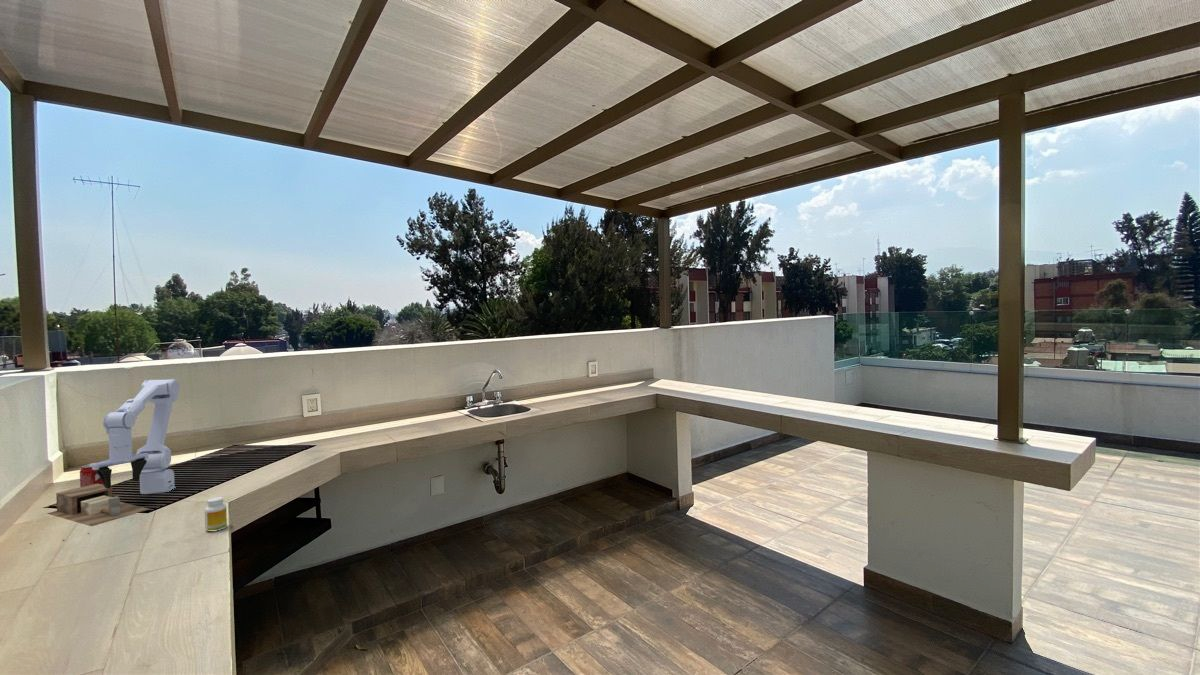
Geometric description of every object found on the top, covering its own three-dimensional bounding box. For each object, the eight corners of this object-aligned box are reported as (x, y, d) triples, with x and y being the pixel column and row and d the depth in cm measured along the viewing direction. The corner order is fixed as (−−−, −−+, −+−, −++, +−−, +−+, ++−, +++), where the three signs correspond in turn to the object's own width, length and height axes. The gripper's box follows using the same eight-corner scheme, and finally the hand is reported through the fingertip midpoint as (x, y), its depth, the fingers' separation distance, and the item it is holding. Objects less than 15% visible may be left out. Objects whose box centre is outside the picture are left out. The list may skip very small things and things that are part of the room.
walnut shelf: (46, 516, 163) (45, 495, 162) (105, 500, 177) (104, 481, 176) (91, 529, 152) (91, 506, 152) (150, 511, 166) (149, 491, 166)
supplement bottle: (230, 527, 154) (229, 497, 154) (211, 533, 150) (210, 503, 149) (221, 524, 157) (220, 494, 156) (201, 530, 152) (200, 500, 152)
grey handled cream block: (81, 513, 163) (80, 495, 163) (104, 506, 168) (103, 489, 168) (104, 519, 158) (103, 501, 158) (127, 512, 164) (127, 495, 163)
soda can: (89, 499, 178) (88, 467, 177) (75, 498, 179) (74, 466, 178) (111, 493, 184) (110, 462, 184) (97, 491, 186) (96, 461, 185)
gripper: (99, 452, 159) (101, 492, 160) (152, 441, 173) (154, 478, 173) (87, 450, 161) (89, 489, 162) (141, 440, 175) (142, 476, 176)
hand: (122, 484), depth 168 cm, fingers open, 7 cm apart
